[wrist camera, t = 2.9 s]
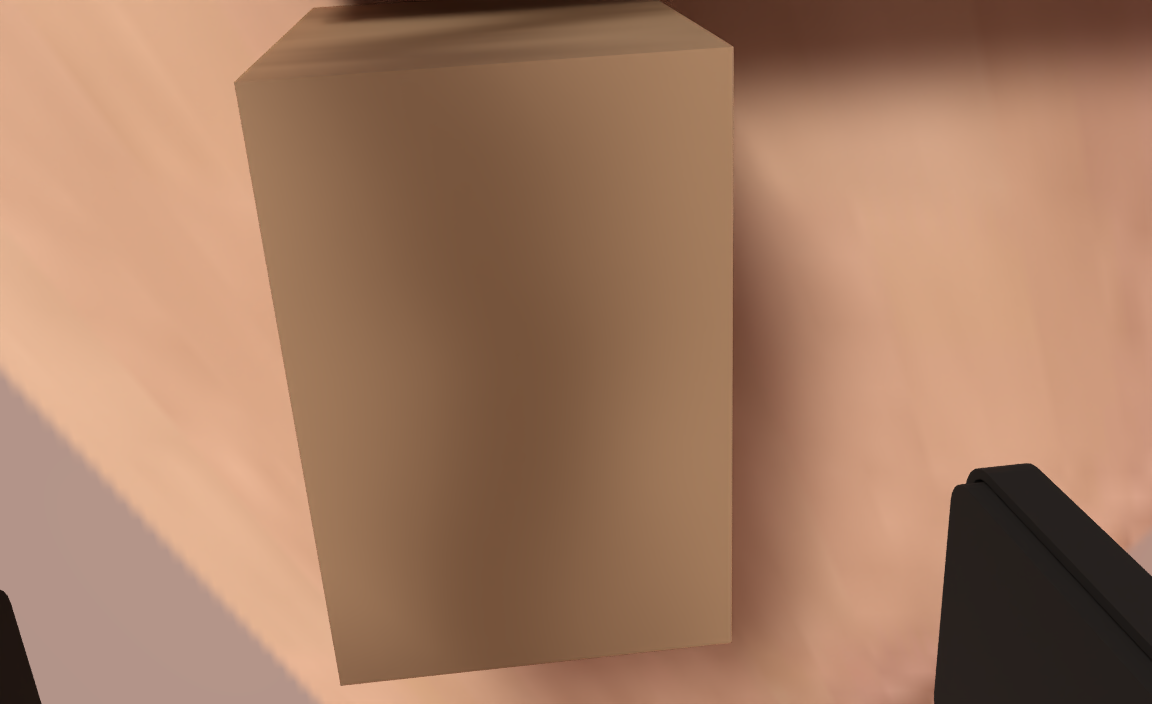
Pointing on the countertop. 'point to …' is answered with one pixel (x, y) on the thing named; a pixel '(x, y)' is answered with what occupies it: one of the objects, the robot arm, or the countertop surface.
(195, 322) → the countertop surface
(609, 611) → the tan wooden block
